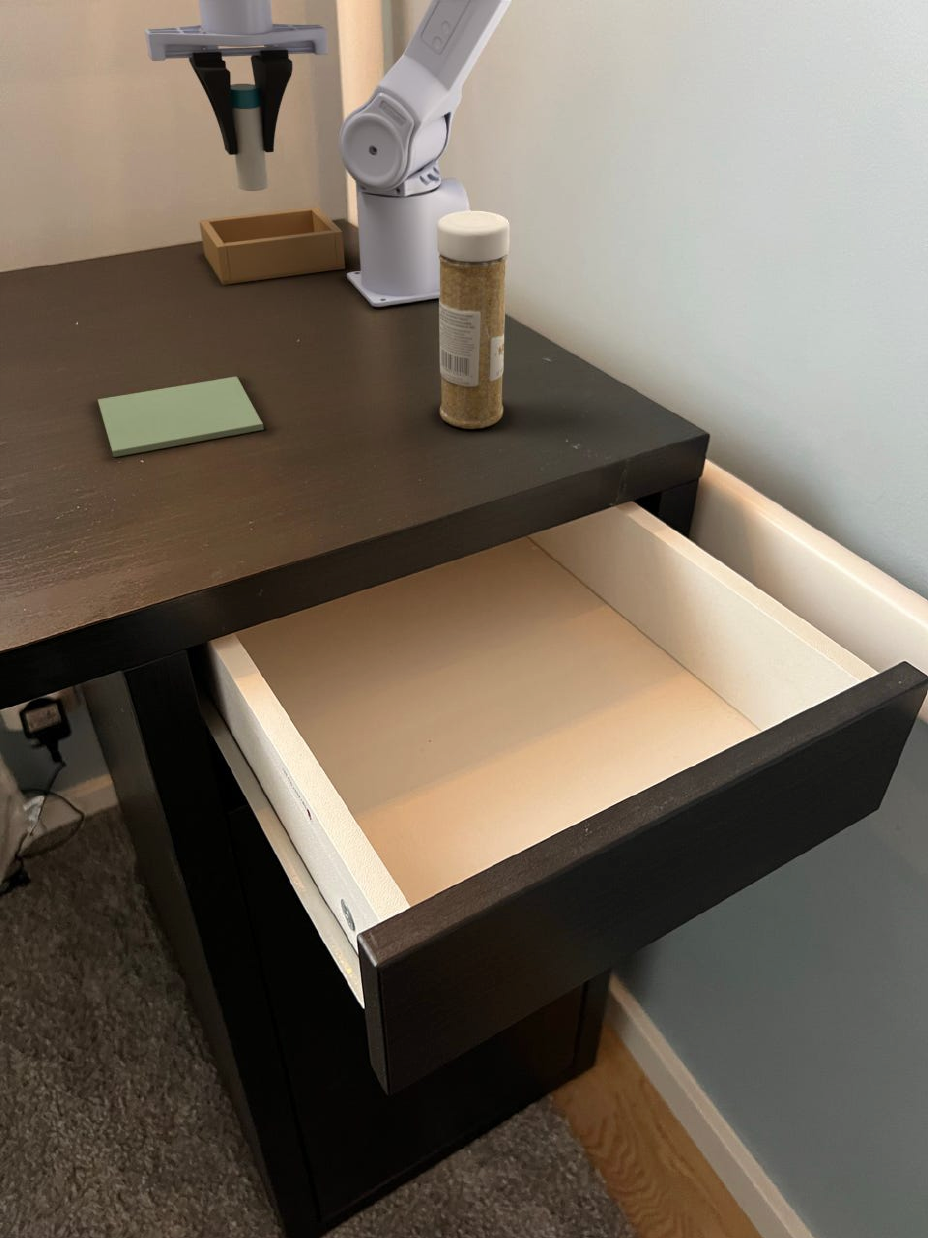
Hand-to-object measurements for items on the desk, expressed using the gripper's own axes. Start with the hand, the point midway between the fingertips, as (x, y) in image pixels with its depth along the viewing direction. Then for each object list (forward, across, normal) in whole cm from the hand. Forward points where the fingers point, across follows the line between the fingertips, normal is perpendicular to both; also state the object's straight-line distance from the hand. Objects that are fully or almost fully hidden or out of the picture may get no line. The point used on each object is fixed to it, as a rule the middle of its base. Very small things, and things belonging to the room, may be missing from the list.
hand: (249, 150), depth 84 cm
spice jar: (+10, -7, +35) cm, 37 cm away
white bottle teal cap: (+3, 0, 0) cm, 3 cm away
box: (+10, -2, -1) cm, 10 cm away
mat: (+10, +12, +27) cm, 32 cm away
